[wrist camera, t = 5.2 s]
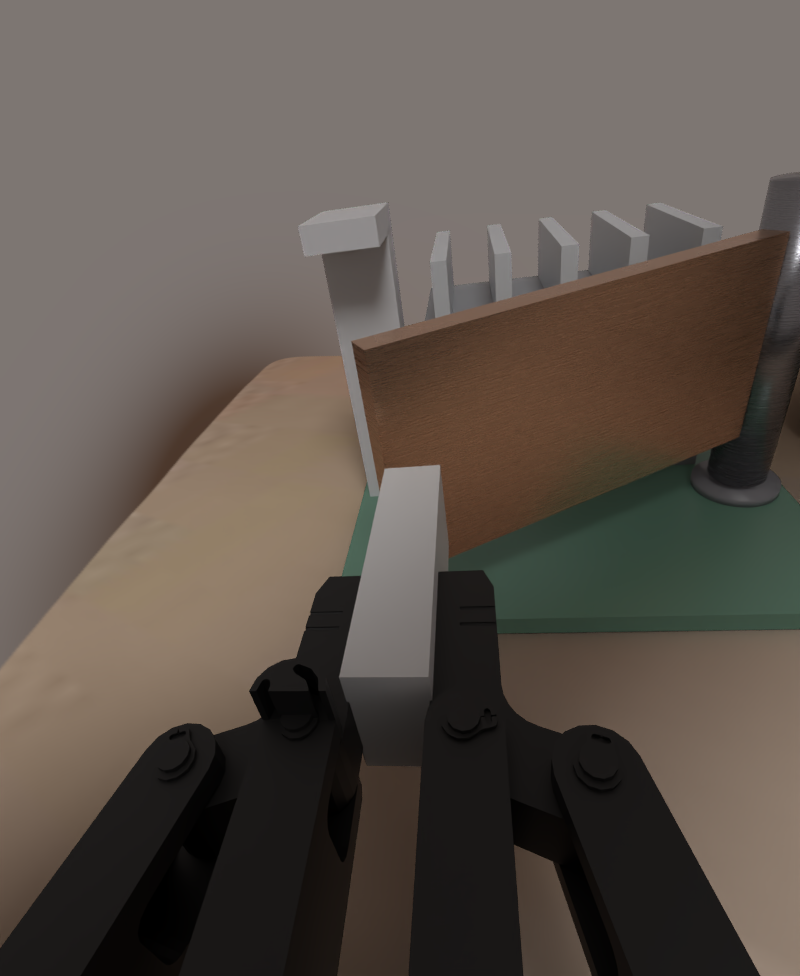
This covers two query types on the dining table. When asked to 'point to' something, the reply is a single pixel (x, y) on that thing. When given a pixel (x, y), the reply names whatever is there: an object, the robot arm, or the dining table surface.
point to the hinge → (596, 380)
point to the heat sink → (608, 517)
